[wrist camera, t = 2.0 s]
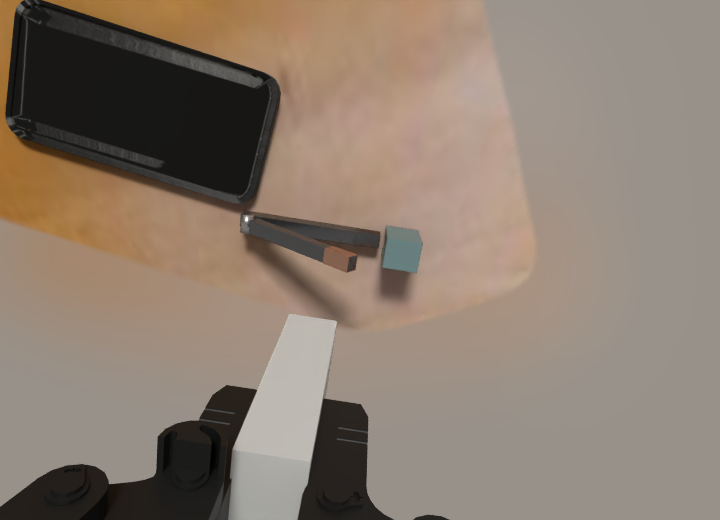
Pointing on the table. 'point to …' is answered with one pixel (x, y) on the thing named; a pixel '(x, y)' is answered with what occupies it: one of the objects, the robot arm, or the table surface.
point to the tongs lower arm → (323, 230)
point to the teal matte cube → (401, 249)
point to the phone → (139, 102)
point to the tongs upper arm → (299, 243)
